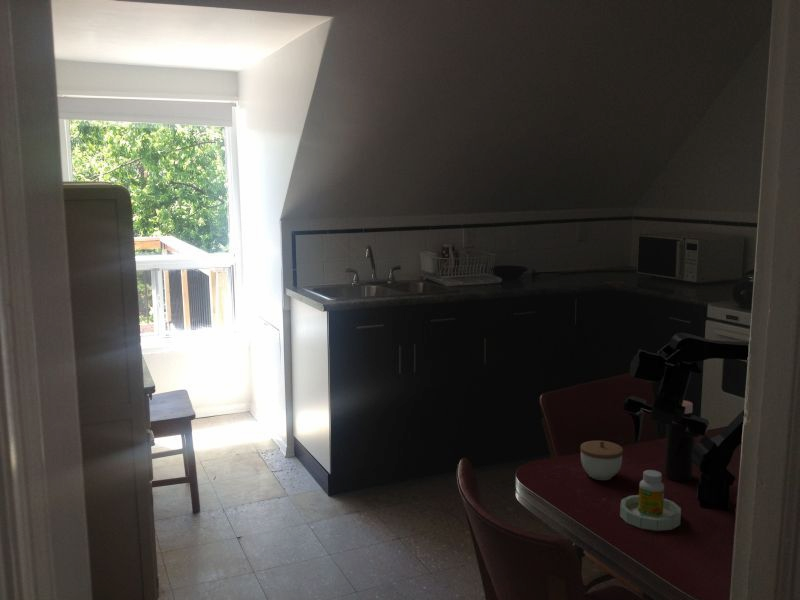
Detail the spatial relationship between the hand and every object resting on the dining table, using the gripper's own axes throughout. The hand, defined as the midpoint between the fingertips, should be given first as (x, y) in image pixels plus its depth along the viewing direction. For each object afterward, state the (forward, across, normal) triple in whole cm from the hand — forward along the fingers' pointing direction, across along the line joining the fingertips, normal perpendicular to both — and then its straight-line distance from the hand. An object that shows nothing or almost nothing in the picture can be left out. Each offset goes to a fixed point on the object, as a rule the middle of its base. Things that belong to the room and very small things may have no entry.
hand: (656, 448), depth 175 cm
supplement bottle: (+13, +3, -7) cm, 15 cm away
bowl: (+14, +4, -8) cm, 16 cm away
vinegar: (+11, +5, +20) cm, 23 cm away
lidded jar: (+15, -13, +11) cm, 23 cm away
